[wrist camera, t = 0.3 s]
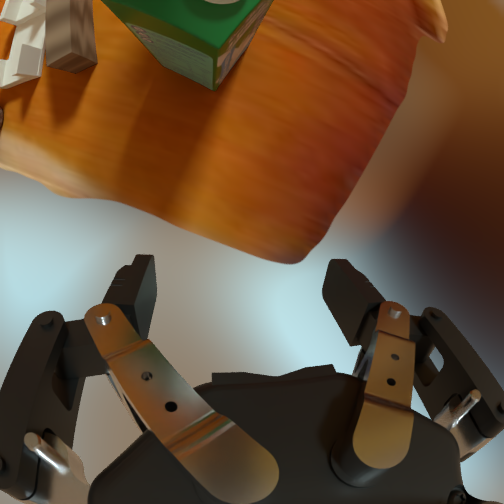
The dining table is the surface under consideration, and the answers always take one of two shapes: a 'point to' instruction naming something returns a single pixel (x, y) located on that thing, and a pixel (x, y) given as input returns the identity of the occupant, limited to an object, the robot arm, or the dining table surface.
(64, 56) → the grey tapered panel
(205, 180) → the dining table surface
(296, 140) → the dining table surface
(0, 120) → the sauce bottle
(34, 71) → the white notched block
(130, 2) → the milk carton
